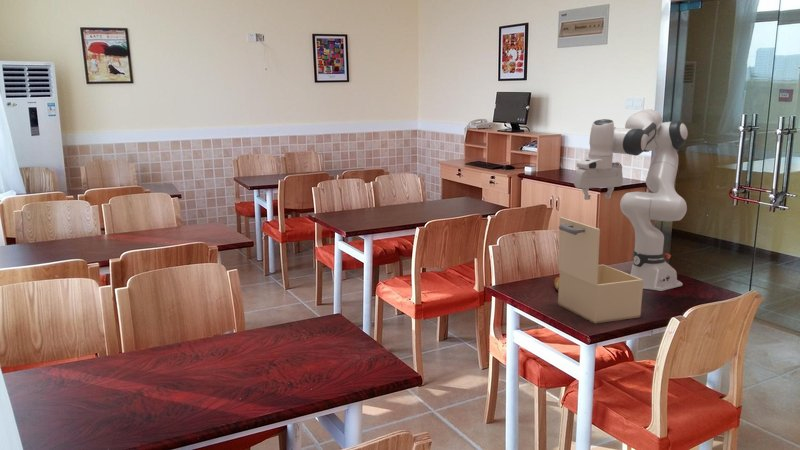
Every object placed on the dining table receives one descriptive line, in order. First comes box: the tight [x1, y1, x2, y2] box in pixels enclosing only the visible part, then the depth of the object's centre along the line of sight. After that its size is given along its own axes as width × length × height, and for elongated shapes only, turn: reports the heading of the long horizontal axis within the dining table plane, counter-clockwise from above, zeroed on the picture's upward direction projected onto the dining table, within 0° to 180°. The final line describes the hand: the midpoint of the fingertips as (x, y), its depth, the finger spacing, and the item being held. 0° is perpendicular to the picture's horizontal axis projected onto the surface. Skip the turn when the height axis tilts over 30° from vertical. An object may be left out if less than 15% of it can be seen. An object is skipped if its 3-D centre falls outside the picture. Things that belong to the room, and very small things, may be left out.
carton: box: [557, 264, 644, 324], centre depth 241 cm, size 20×22×14 cm
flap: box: [557, 216, 601, 286], centre depth 233 cm, size 20×22×6 cm
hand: (597, 198), depth 251 cm, fingers open, 8 cm apart
